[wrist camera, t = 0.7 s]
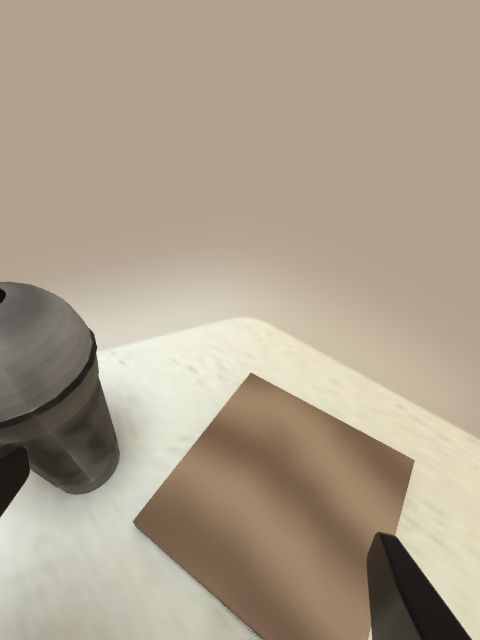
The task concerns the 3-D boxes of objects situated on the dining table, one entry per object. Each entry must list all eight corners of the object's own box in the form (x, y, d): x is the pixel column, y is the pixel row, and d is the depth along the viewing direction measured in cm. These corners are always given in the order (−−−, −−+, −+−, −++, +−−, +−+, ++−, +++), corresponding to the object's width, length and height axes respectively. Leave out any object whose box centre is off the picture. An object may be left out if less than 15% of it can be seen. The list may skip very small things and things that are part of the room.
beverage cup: (147, 417, 27) (62, 155, 13) (124, 518, 21) (-63, 256, 8) (58, 415, 27) (-123, 150, 13) (12, 516, 21) (-379, 248, 8)
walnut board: (343, 710, 16) (348, 712, 15) (135, 526, 21) (132, 521, 20) (409, 466, 24) (414, 460, 24) (250, 379, 30) (250, 372, 29)
